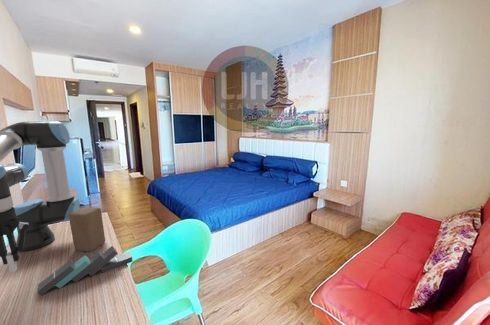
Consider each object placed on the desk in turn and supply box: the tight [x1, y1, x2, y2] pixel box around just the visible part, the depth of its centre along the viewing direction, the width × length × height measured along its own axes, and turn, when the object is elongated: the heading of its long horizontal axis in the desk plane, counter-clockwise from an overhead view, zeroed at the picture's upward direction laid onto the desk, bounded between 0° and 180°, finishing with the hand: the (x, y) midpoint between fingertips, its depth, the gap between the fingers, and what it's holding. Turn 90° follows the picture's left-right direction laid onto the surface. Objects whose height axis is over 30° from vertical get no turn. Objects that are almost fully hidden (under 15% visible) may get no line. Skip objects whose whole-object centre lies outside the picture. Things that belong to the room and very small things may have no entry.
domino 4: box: [87, 245, 119, 277], centre depth 96 cm, size 5×2×12 cm
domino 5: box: [100, 251, 133, 274], centre depth 99 cm, size 5×2×12 cm
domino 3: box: [71, 250, 104, 283], centre depth 92 cm, size 5×2×12 cm
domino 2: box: [54, 254, 90, 289], centre depth 89 cm, size 5×2×12 cm
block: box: [69, 206, 106, 252], centre depth 112 cm, size 10×10×20 cm
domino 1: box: [36, 259, 75, 296], centre depth 86 cm, size 5×2×12 cm
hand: (13, 269), depth 79 cm, fingers closed
